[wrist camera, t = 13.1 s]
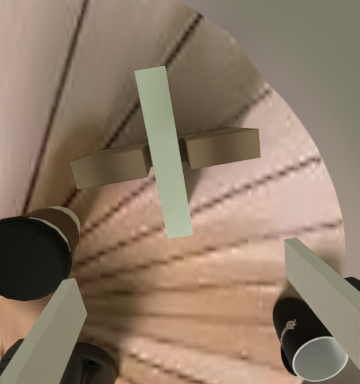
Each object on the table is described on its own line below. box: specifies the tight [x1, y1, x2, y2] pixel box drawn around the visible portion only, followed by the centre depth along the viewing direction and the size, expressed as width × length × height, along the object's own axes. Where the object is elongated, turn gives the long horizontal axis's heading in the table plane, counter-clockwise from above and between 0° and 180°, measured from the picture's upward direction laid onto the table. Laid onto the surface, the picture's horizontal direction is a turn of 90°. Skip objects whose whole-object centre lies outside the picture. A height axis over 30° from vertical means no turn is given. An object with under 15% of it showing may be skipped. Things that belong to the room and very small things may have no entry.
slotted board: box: [69, 127, 261, 190], centre depth 32 cm, size 20×3×12 cm, turn 99°
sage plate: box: [134, 66, 193, 239], centre depth 32 cm, size 3×20×12 cm, turn 10°
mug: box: [273, 298, 349, 381], centre depth 43 cm, size 12×9×10 cm
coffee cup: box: [0, 206, 81, 301], centre depth 34 cm, size 11×11×12 cm
